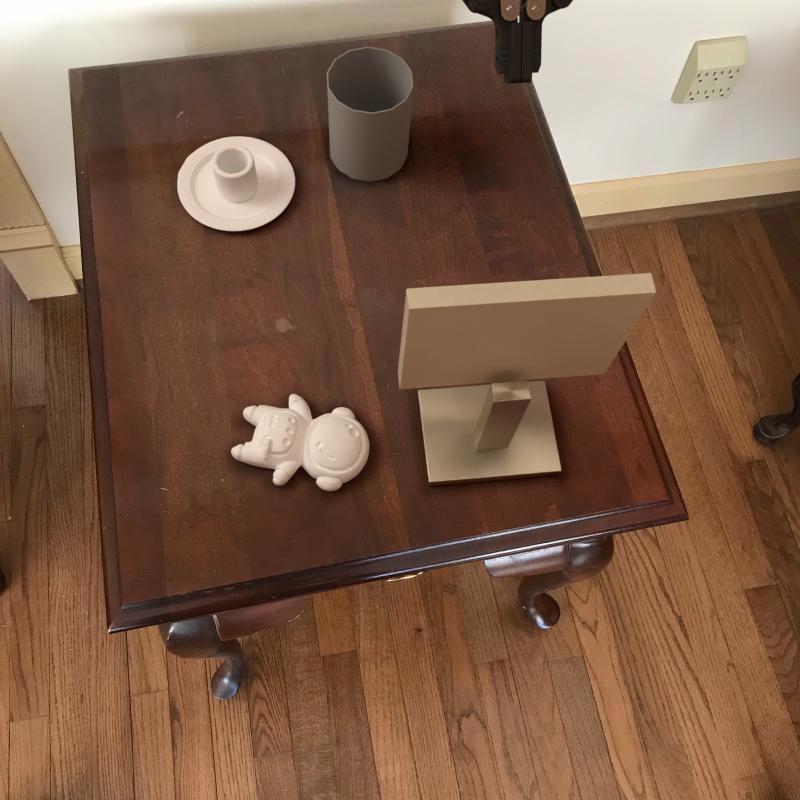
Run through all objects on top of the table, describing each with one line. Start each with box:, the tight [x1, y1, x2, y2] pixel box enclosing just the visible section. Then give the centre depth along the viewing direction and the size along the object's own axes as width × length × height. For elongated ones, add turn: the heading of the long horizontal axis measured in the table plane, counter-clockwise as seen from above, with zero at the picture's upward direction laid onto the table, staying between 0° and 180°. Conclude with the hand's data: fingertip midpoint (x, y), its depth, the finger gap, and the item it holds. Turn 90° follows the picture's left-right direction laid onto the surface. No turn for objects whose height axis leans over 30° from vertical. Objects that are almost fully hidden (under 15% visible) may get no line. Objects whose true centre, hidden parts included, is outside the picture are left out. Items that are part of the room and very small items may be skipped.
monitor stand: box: [416, 380, 563, 487], centre depth 71 cm, size 9×12×12 cm
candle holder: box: [176, 135, 296, 232], centre depth 85 cm, size 12×12×4 cm
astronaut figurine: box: [230, 393, 370, 492], centre depth 74 cm, size 9×12×3 cm
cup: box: [326, 46, 414, 183], centre depth 85 cm, size 8×8×10 cm
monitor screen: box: [397, 272, 657, 390], centre depth 62 cm, size 2×17×13 cm, turn 96°
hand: (518, 82), depth 56 cm, fingers closed
